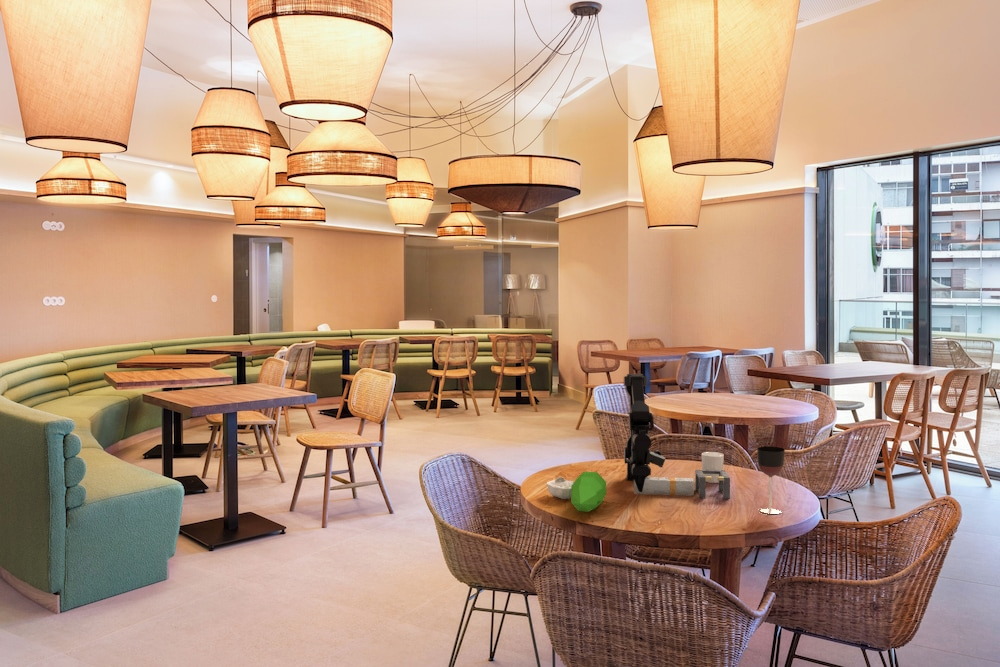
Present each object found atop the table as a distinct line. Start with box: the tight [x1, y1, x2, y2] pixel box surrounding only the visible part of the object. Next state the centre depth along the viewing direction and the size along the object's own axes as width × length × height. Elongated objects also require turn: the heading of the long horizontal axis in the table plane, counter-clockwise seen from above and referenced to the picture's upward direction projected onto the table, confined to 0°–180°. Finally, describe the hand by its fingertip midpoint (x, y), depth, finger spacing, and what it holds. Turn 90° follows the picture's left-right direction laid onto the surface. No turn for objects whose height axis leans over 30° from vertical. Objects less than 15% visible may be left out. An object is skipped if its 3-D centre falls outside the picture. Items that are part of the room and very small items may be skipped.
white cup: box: [701, 451, 725, 484], centre depth 272 cm, size 8×8×10 cm
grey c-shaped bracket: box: [694, 469, 731, 500], centre depth 253 cm, size 10×11×7 cm
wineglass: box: [756, 445, 786, 514], centre depth 232 cm, size 8×9×20 cm
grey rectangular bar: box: [633, 476, 695, 497], centre depth 255 cm, size 20×4×5 cm, turn 83°
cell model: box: [546, 476, 574, 500], centre depth 250 cm, size 10×12×7 cm
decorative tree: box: [570, 471, 607, 512], centre depth 236 cm, size 11×12×30 cm
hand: (639, 489), depth 256 cm, fingers open, 6 cm apart
